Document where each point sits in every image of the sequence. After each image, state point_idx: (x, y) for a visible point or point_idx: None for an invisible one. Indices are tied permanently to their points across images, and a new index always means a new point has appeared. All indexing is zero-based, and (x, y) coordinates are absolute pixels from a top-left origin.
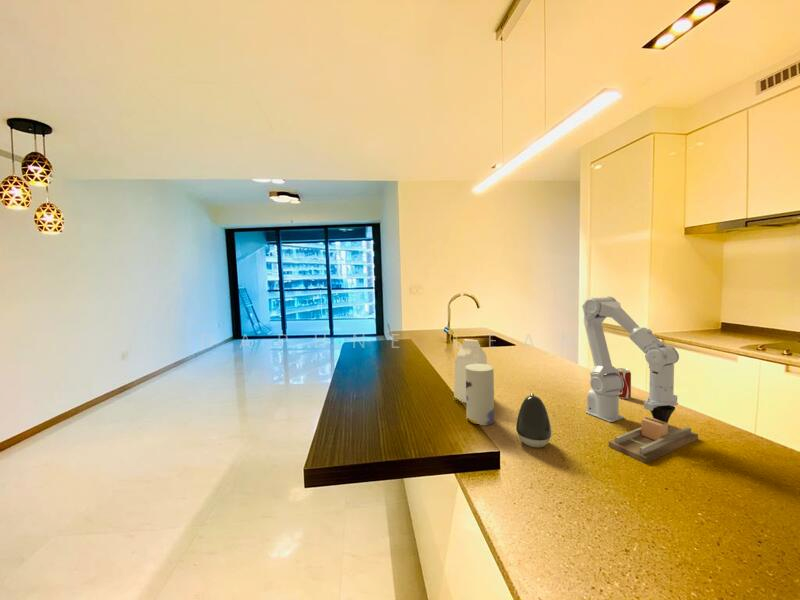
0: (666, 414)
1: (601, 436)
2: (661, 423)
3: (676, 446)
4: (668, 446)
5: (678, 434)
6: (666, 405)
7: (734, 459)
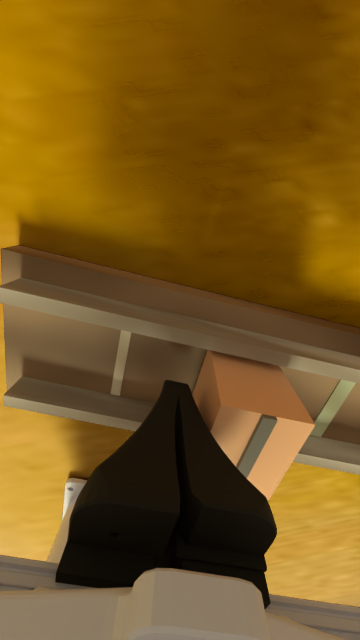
0: (235, 473)
1: (300, 482)
2: (271, 428)
3: (230, 300)
4: (288, 325)
5: (154, 319)
6: (122, 554)
7: (135, 43)
